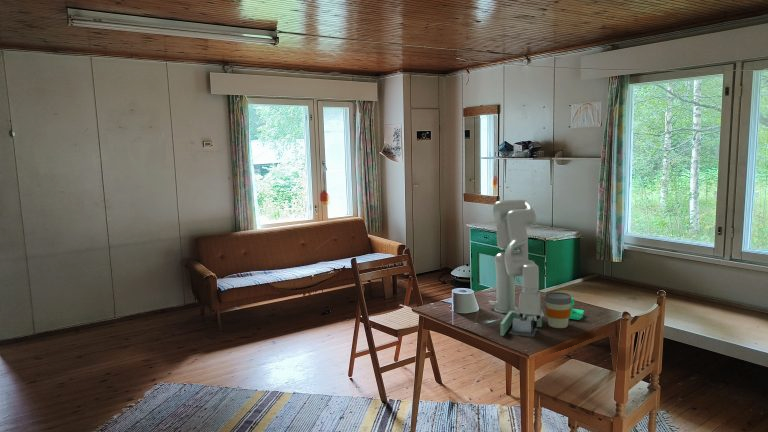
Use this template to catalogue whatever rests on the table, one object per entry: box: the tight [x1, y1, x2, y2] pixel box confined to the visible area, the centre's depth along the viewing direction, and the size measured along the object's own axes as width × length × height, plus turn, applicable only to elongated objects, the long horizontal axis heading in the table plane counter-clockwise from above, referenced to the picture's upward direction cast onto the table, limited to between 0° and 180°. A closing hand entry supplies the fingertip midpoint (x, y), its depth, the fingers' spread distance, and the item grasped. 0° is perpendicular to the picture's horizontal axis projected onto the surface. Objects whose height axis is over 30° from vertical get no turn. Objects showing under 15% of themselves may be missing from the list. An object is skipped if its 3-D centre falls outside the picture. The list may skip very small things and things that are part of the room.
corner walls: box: [499, 311, 543, 337], centre depth 253 cm, size 16×20×6 cm
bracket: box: [512, 316, 534, 334], centre depth 253 cm, size 8×8×6 cm
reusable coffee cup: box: [544, 291, 573, 329], centre depth 259 cm, size 13×13×15 cm
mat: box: [508, 326, 538, 338], centre depth 253 cm, size 12×11×1 cm
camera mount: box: [569, 297, 585, 321], centre depth 271 cm, size 12×8×10 cm, turn 148°
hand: (529, 327), depth 252 cm, fingers open, 3 cm apart
